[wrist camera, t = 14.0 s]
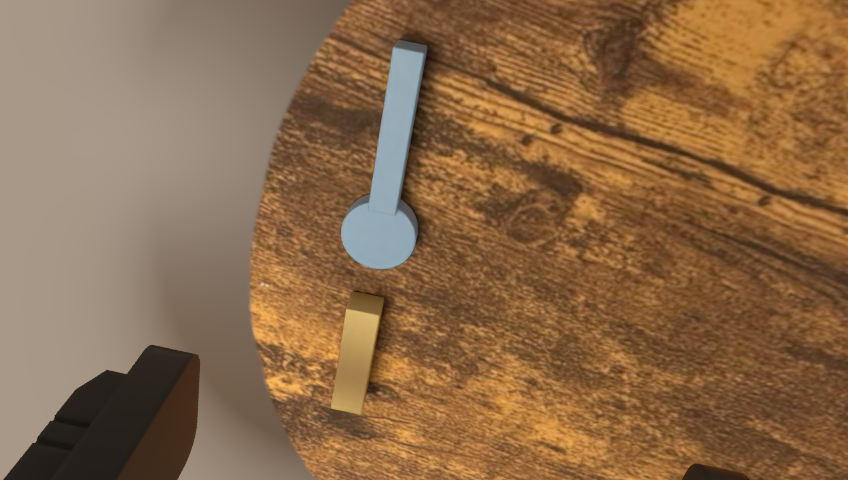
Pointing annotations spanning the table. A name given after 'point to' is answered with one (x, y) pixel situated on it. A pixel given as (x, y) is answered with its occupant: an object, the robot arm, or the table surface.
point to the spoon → (389, 171)
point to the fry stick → (356, 352)
